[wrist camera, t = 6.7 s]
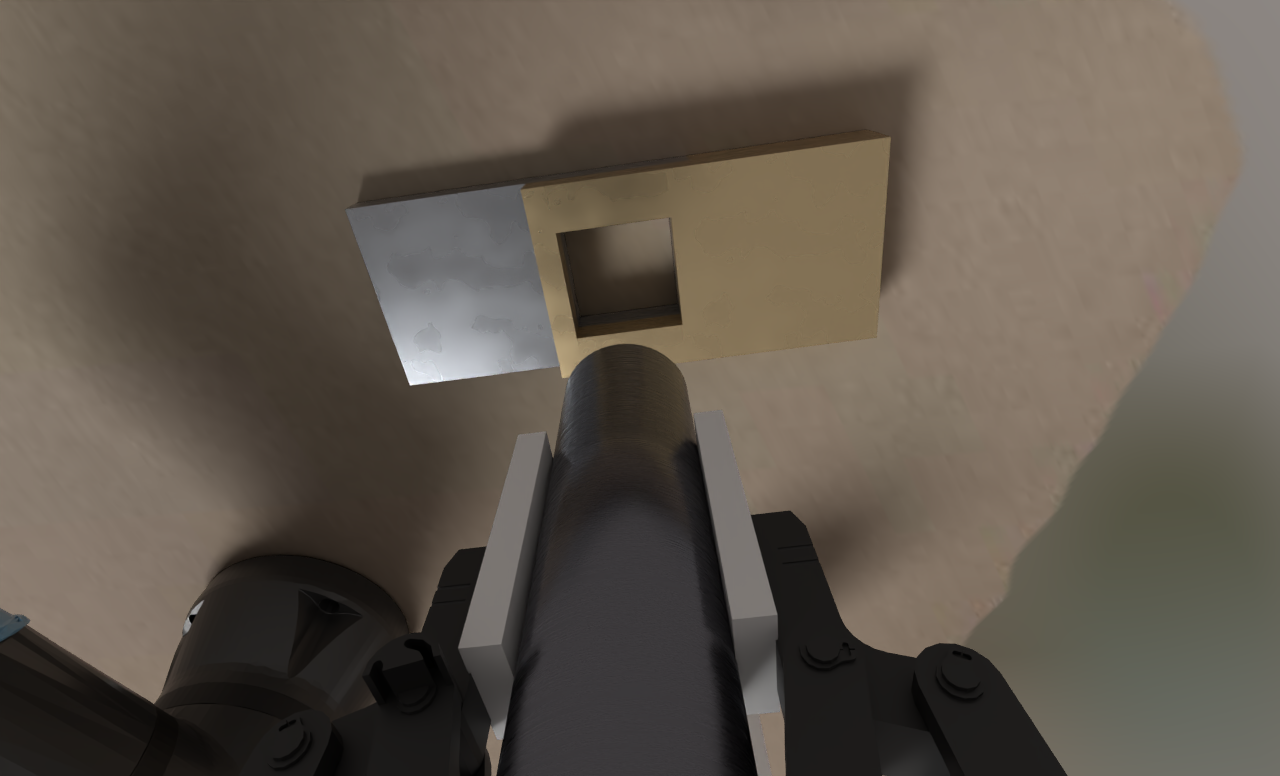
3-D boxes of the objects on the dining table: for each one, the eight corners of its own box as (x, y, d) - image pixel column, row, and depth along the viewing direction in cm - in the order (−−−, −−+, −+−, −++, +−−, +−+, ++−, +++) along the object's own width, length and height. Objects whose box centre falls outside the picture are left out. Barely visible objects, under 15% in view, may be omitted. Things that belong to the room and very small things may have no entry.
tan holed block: (417, 373, 35) (401, 398, 33) (357, 203, 30) (332, 216, 28) (857, 315, 34) (876, 337, 32) (866, 129, 29) (891, 136, 27)
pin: (577, 455, 20) (505, 1049, 8) (554, 352, 18) (414, 928, 6) (692, 441, 20) (794, 1029, 8) (681, 335, 18) (793, 898, 6)
